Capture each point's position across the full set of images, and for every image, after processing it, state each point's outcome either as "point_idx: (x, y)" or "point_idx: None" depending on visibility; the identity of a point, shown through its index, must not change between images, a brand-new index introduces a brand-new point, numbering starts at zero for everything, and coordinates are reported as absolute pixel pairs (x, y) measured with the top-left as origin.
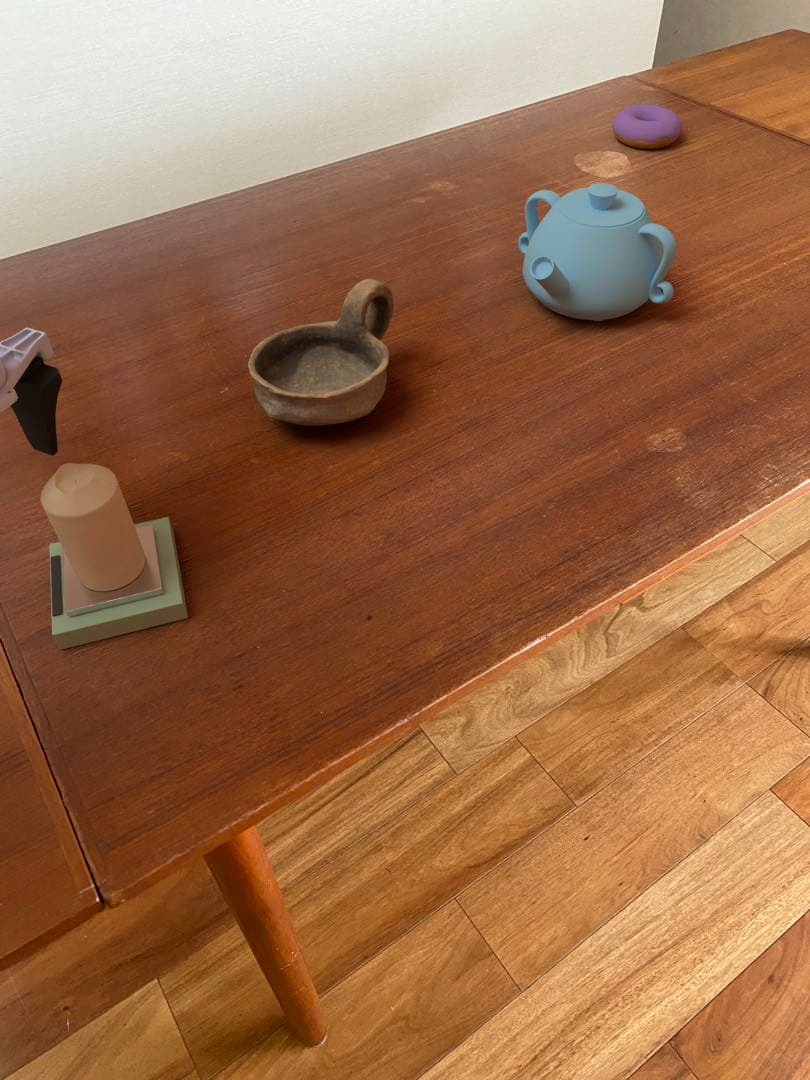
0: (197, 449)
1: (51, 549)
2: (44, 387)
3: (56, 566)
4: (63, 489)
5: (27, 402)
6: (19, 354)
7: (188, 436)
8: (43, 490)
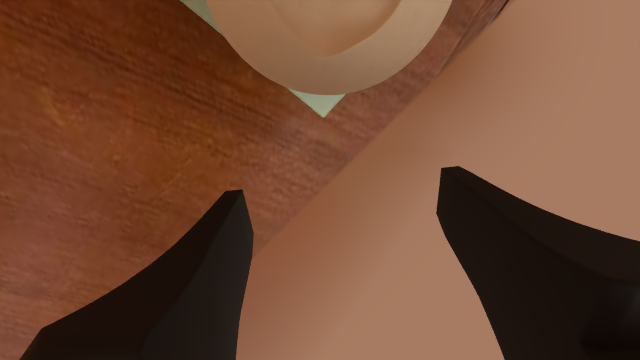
0: (15, 91)
1: (330, 106)
2: (123, 350)
3: None
4: None
5: (209, 328)
6: None
7: (12, 126)
8: (400, 60)
